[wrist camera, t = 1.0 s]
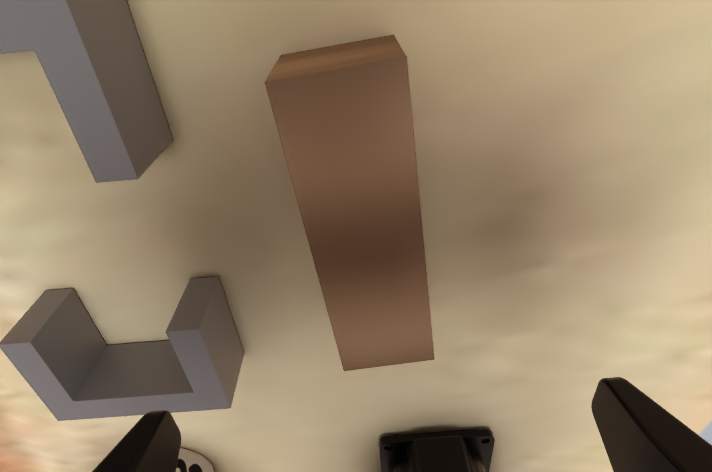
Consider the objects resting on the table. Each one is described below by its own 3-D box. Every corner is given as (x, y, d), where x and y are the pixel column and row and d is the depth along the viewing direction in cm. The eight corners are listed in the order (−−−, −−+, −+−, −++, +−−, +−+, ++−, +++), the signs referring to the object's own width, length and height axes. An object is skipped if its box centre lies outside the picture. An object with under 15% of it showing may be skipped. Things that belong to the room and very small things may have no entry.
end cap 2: (244, 352, 21) (230, 408, 18) (92, 363, 21) (58, 420, 18) (218, 276, 18) (198, 329, 15) (45, 290, 18) (-2, 345, 16)
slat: (420, 297, 19) (434, 359, 16) (343, 308, 20) (344, 370, 17) (392, 33, 13) (406, 56, 10) (281, 53, 13) (264, 82, 11)
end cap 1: (-138, 4, 12) (-262, 18, 10) (119, -21, 12) (60, -13, 9) (-39, 158, 15) (-117, 200, 12) (173, 139, 15) (137, 178, 12)
